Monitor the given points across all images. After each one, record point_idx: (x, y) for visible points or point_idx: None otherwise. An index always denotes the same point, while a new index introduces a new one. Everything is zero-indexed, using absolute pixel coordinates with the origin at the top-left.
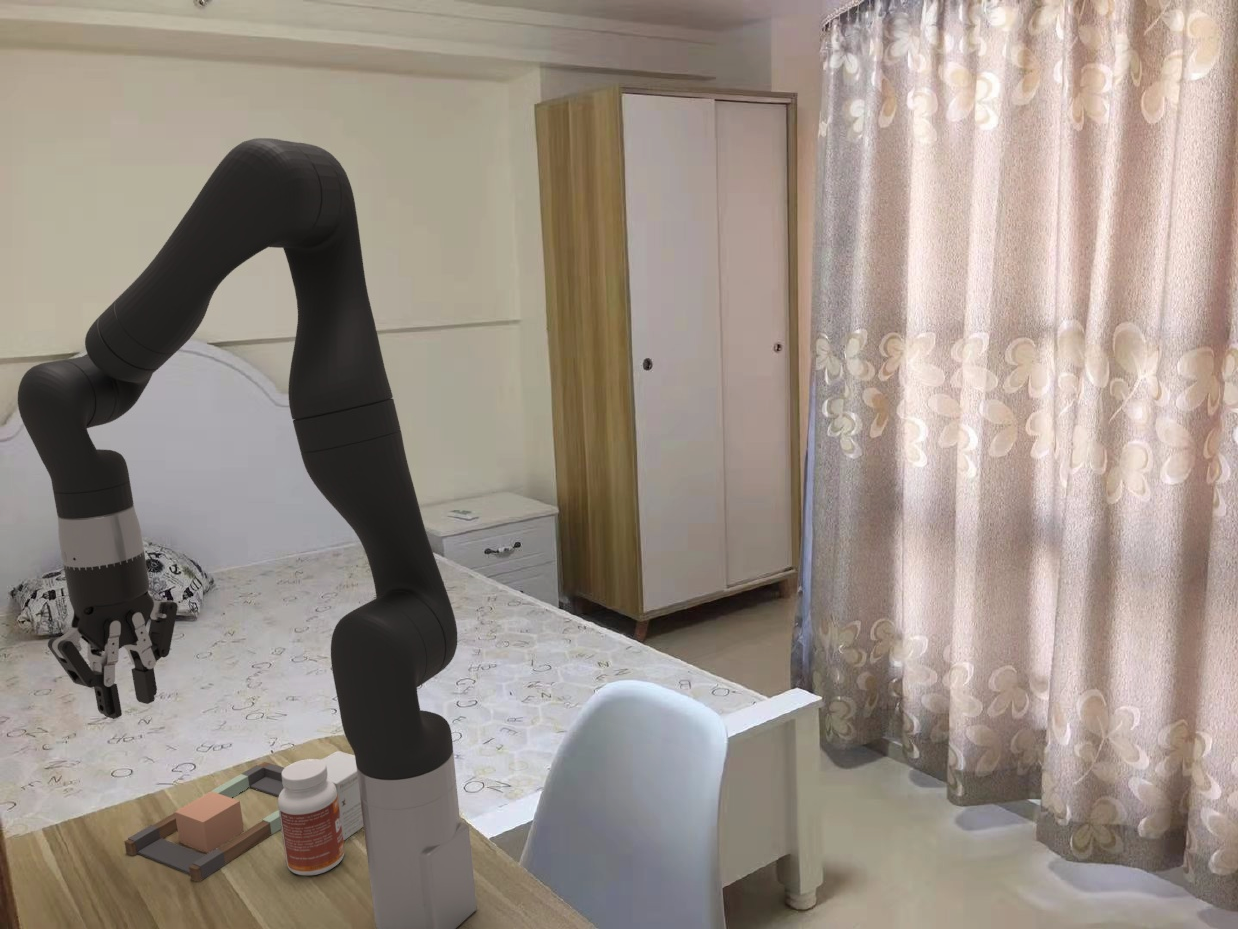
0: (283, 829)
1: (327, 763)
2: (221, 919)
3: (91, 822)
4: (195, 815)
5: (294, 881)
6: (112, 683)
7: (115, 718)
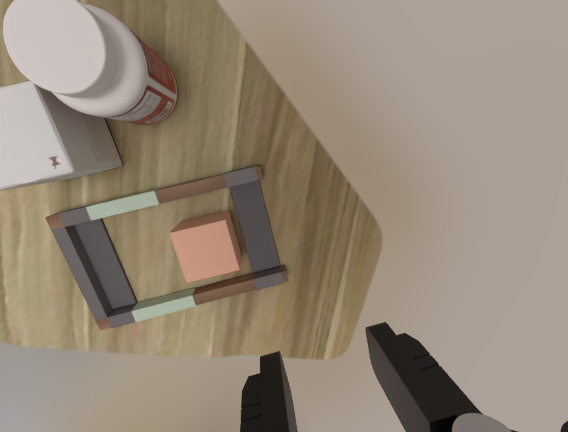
0: (159, 81)
1: (17, 159)
2: (272, 76)
3: (286, 352)
4: (225, 242)
5: (182, 73)
6: (460, 426)
7: (383, 323)
